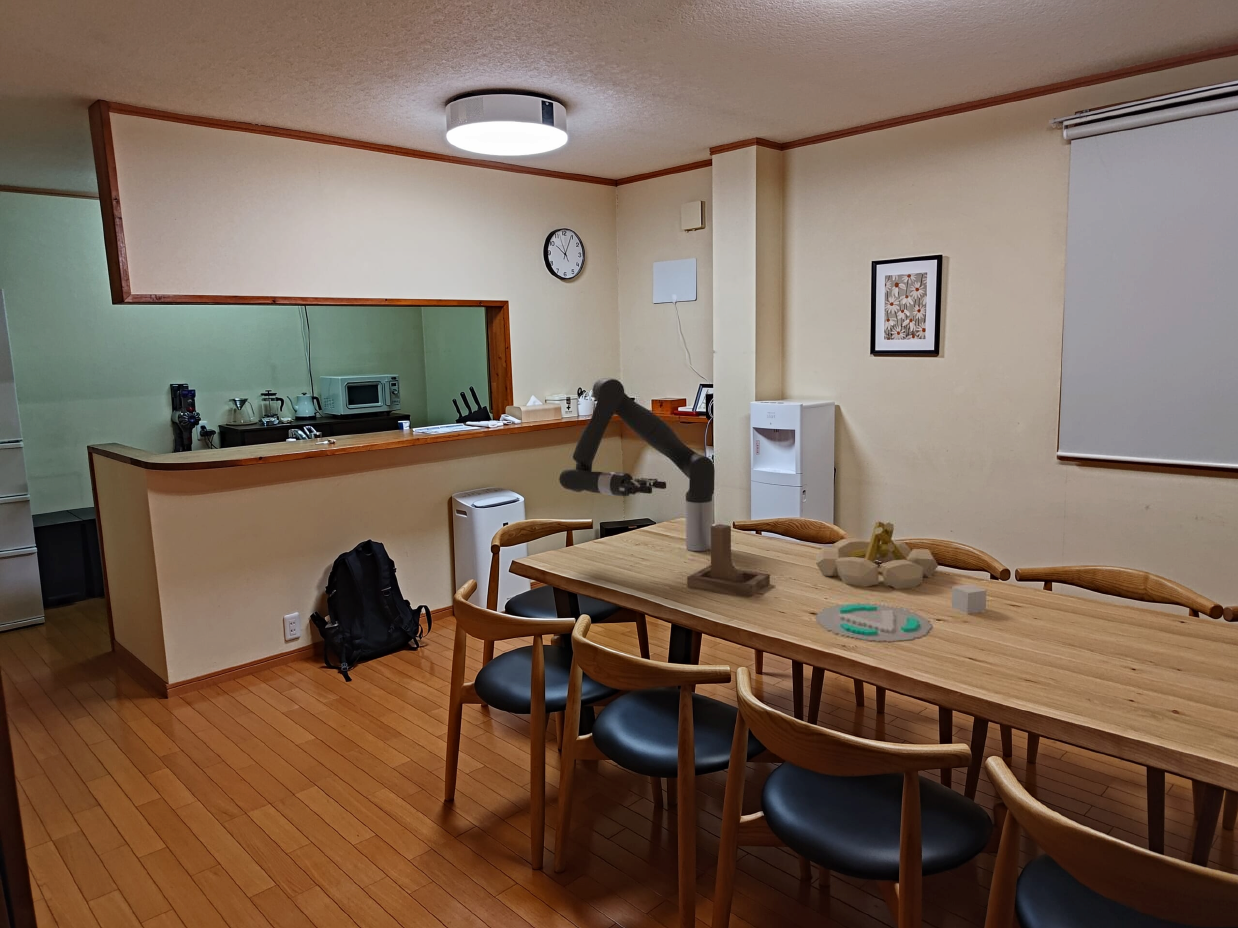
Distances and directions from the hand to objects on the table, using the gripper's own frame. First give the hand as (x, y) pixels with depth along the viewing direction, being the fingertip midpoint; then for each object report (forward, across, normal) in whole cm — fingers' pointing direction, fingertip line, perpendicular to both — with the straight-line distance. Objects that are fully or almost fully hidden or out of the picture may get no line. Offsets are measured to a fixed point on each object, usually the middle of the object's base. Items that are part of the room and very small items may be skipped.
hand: (658, 487), depth 254 cm
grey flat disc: (+70, -10, +29) cm, 76 cm away
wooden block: (+24, -1, +28) cm, 37 cm away
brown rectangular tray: (+24, 0, +28) cm, 37 cm away
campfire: (+58, +33, +29) cm, 73 cm away
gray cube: (+89, +11, +29) cm, 94 cm away
